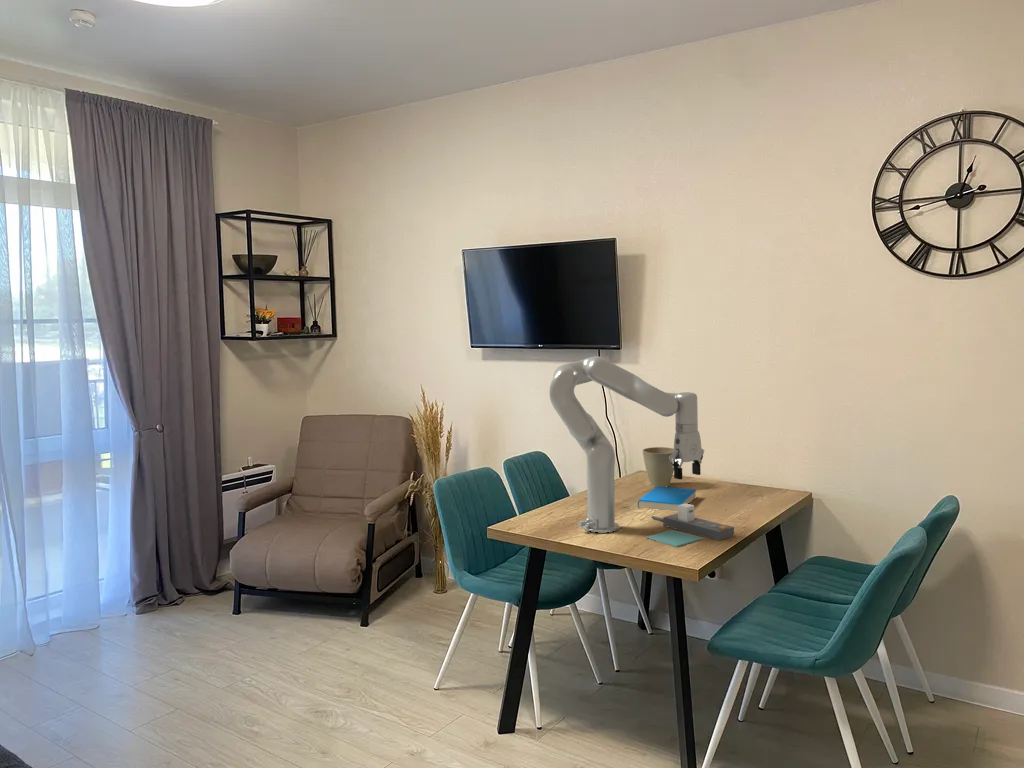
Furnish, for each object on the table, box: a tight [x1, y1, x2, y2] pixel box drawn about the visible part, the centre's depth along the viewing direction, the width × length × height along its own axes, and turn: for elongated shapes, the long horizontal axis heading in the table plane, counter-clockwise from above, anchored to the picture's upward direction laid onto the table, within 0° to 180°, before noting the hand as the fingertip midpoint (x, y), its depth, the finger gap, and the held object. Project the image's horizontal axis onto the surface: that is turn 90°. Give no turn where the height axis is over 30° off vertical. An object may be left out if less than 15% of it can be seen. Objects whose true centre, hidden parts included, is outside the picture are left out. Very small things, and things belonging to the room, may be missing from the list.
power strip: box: [650, 512, 735, 541], centre depth 264 cm, size 33×8×4 cm, turn 38°
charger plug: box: [677, 503, 696, 522], centre depth 264 cm, size 4×4×8 cm
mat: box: [645, 529, 703, 548], centre depth 252 cm, size 13×13×1 cm
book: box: [637, 486, 697, 512], centre depth 299 cm, size 17×4×25 cm
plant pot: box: [642, 446, 674, 488], centre depth 328 cm, size 15×15×16 cm
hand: (687, 476), depth 263 cm, fingers open, 9 cm apart
